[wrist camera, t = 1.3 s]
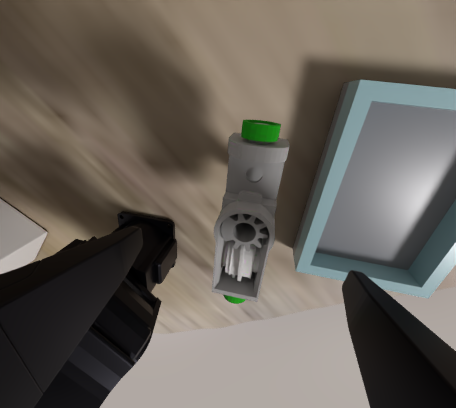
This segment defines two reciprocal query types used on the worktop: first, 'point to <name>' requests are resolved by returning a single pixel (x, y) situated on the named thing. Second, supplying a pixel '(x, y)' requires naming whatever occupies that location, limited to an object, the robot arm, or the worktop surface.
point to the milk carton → (18, 238)
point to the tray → (385, 189)
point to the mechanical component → (248, 210)
